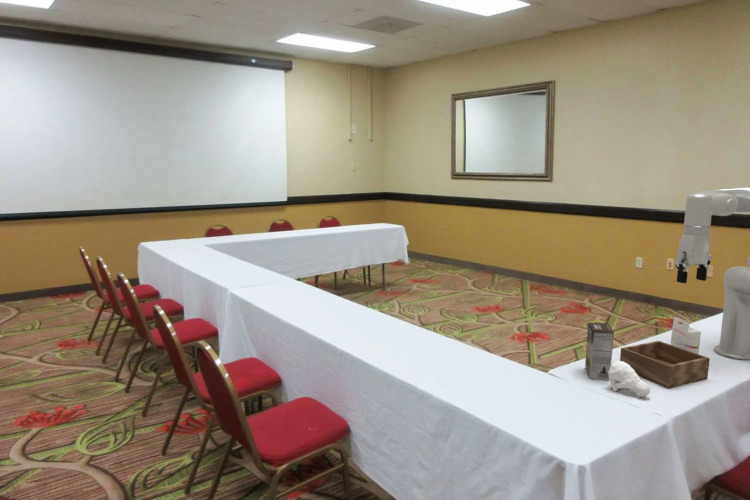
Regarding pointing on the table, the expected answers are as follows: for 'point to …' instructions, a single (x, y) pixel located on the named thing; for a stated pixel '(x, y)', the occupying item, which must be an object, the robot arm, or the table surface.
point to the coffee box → (599, 350)
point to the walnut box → (666, 364)
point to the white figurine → (627, 379)
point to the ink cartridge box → (685, 336)
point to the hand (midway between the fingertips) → (691, 281)
